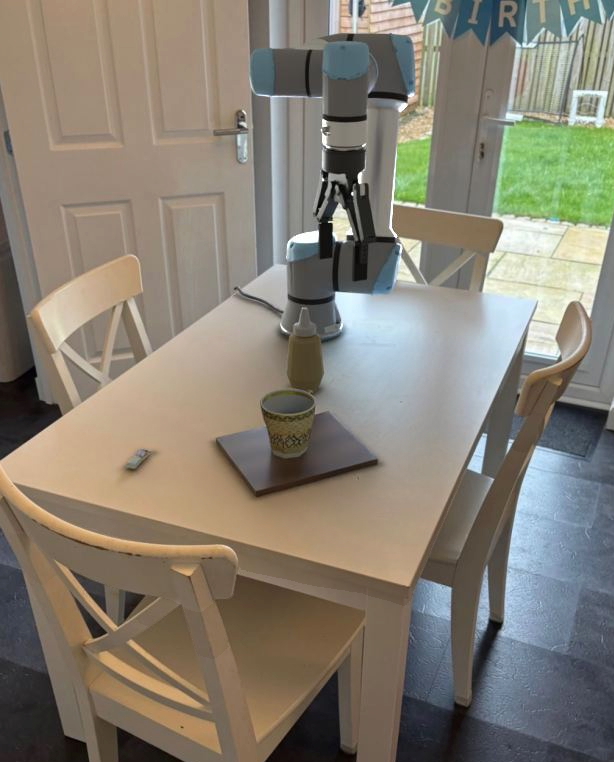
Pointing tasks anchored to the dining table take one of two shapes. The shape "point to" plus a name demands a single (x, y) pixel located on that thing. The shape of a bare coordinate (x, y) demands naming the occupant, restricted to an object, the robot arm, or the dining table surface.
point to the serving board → (321, 460)
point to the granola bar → (137, 458)
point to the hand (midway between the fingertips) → (341, 268)
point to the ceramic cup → (288, 420)
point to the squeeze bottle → (305, 355)
